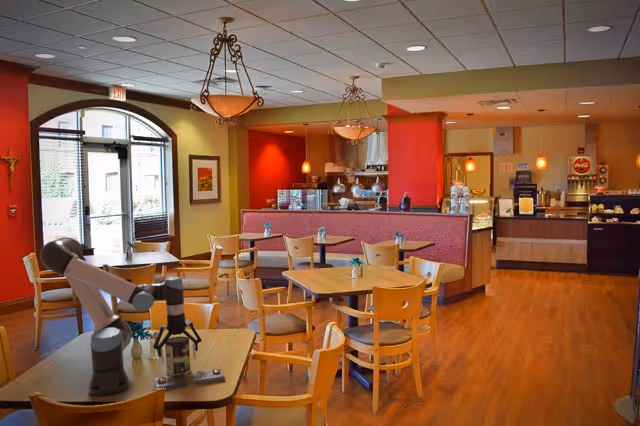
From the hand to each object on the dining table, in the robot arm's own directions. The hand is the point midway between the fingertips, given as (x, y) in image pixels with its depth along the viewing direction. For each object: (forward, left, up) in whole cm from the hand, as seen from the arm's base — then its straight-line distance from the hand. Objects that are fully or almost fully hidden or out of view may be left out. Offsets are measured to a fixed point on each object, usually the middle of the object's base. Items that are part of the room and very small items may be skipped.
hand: (178, 361), depth 230 cm
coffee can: (0, 0, -5) cm, 5 cm away
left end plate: (-5, -14, -5) cm, 15 cm away
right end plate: (+10, -14, -5) cm, 18 cm away
